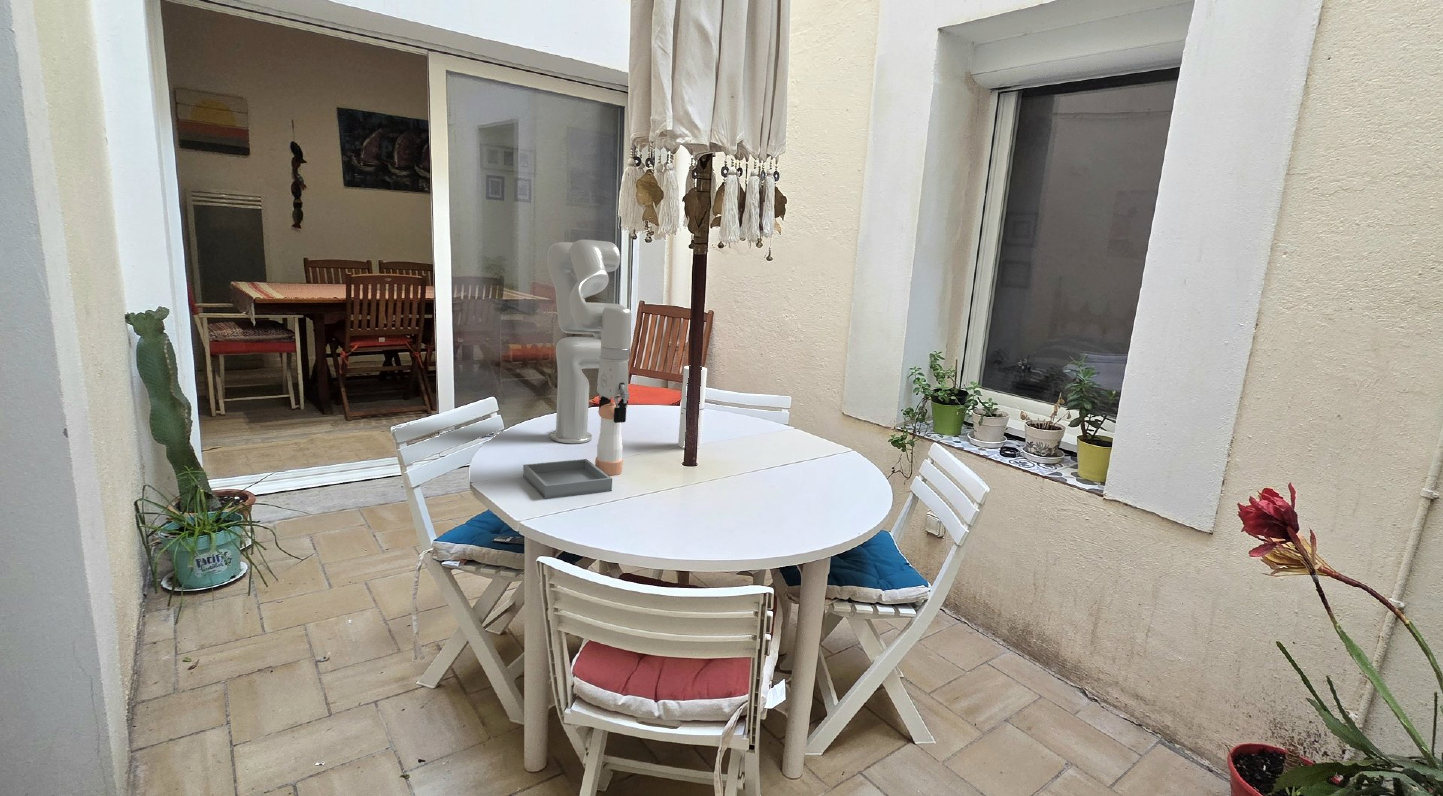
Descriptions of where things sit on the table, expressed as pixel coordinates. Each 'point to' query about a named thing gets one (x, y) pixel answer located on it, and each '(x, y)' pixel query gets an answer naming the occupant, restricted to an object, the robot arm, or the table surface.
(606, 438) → the pepper shaker
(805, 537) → the table surface
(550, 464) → the tray
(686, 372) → the cylindrical container
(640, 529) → the table surface
